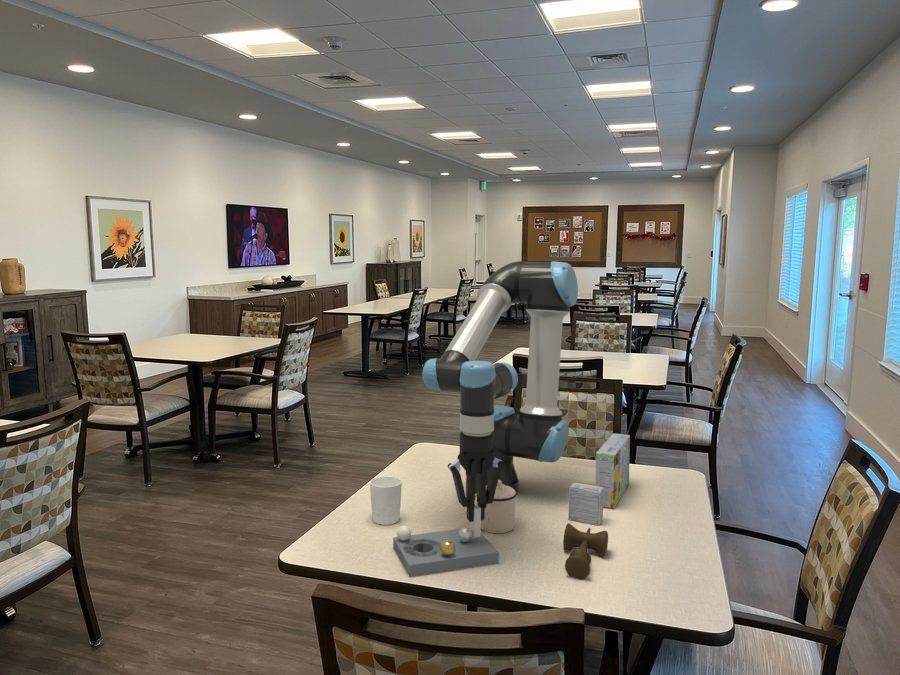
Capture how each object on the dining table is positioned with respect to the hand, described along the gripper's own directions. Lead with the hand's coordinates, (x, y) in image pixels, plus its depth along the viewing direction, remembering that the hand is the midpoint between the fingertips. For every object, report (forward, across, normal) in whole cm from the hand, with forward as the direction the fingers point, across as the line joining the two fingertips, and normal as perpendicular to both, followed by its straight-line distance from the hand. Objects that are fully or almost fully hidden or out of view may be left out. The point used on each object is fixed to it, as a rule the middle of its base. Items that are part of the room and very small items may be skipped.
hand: (475, 534), depth 146 cm
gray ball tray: (+4, +7, 0) cm, 8 cm away
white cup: (+4, +15, -23) cm, 28 cm away
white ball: (0, +15, -5) cm, 16 cm away
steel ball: (0, +2, 0) cm, 2 cm away
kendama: (+5, -22, +10) cm, 24 cm away
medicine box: (+4, -33, -8) cm, 34 cm away
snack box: (+4, -49, -21) cm, 53 cm away
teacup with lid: (+4, -9, -12) cm, 16 cm away
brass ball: (0, +8, +5) cm, 10 cm away
